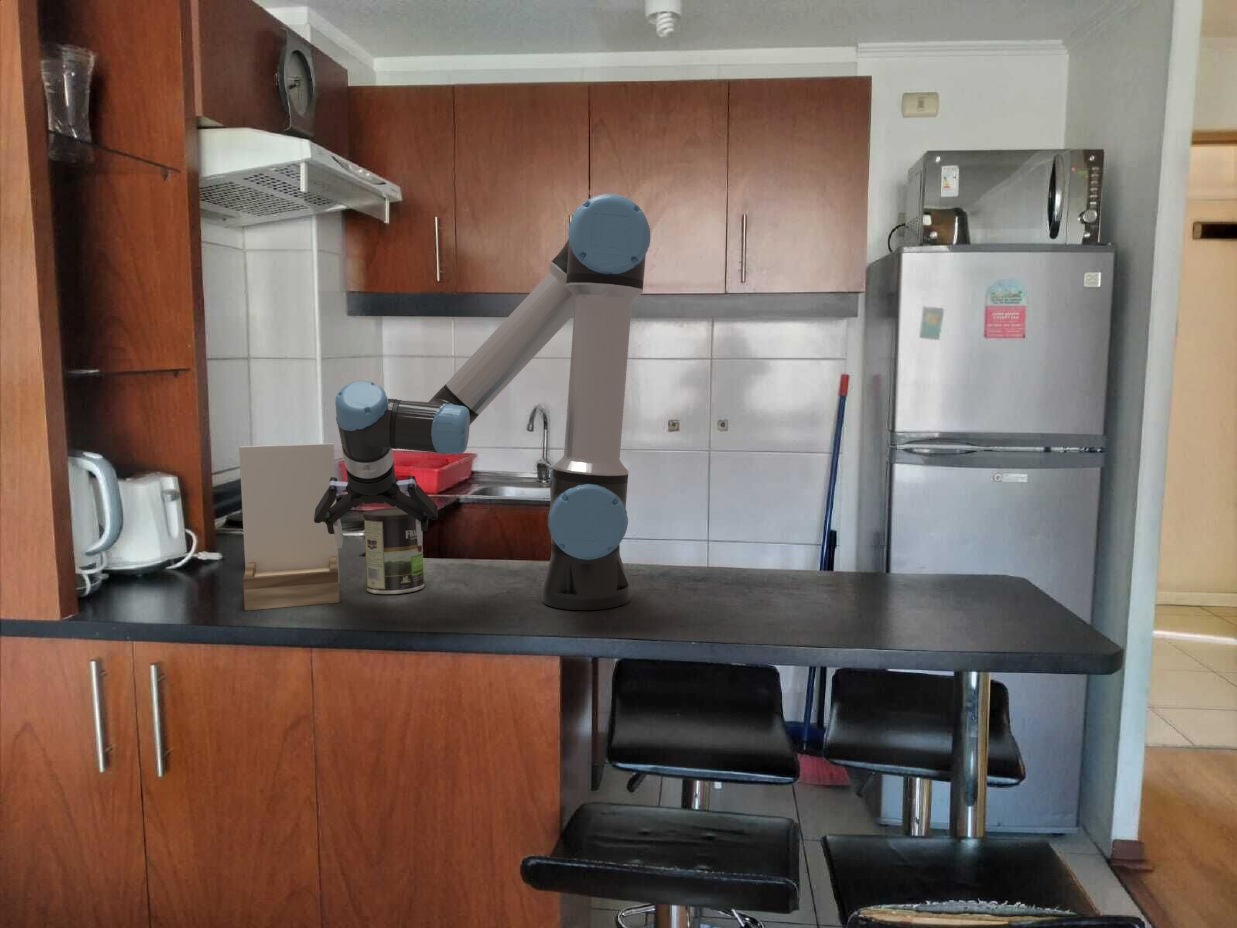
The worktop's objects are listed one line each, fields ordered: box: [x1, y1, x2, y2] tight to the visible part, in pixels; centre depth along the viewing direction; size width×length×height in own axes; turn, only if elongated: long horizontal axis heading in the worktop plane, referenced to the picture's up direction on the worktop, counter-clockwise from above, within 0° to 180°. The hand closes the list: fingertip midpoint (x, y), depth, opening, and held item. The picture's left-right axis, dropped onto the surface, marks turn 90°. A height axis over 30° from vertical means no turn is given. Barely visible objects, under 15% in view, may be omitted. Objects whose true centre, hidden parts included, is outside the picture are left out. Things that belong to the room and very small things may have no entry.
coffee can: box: [362, 507, 425, 595], centre depth 168 cm, size 10×10×14 cm
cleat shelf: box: [242, 556, 340, 611], centre depth 162 cm, size 14×15×5 cm
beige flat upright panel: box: [238, 442, 340, 585], centre depth 169 cm, size 2×16×26 cm, turn 109°
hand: (380, 540), depth 164 cm, fingers open, 13 cm apart
